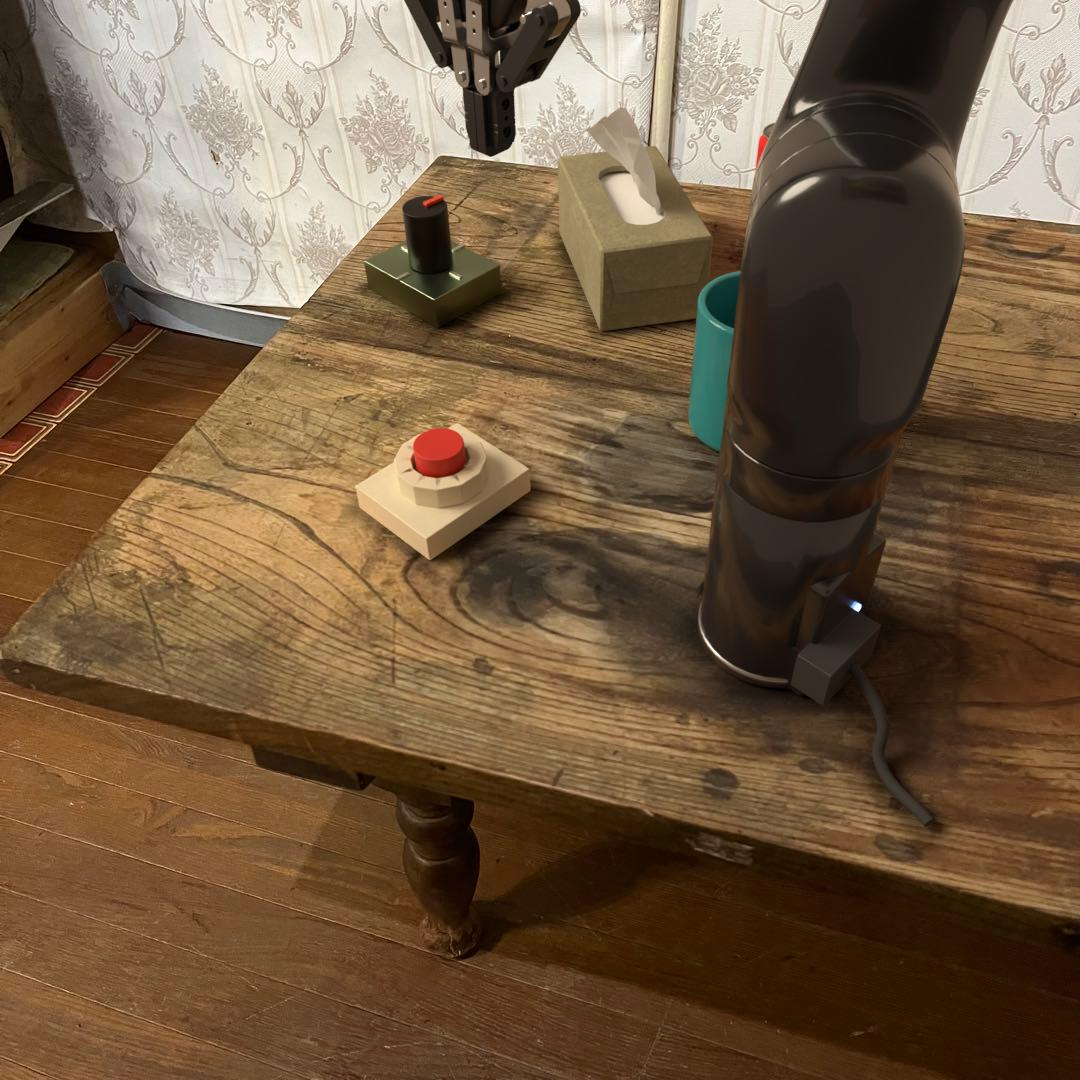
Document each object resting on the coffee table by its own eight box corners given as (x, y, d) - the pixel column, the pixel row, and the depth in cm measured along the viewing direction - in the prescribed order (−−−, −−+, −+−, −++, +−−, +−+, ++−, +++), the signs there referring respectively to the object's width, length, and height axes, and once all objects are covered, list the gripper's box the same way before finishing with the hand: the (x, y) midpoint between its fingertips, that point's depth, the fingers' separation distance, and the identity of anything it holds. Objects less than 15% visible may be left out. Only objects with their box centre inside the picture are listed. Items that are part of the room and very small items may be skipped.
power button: (476, 461, 74) (474, 442, 73) (438, 486, 73) (435, 467, 71) (443, 439, 76) (440, 421, 75) (405, 463, 74) (402, 444, 73)
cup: (702, 491, 77) (715, 366, 69) (679, 393, 85) (689, 271, 77) (823, 484, 77) (851, 359, 69) (788, 387, 85) (809, 265, 77)
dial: (427, 278, 93) (419, 218, 89) (400, 262, 95) (392, 203, 91) (461, 262, 95) (456, 203, 91) (435, 246, 97) (428, 188, 93)
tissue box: (558, 232, 105) (555, 71, 93) (652, 220, 106) (659, 60, 95) (601, 334, 91) (603, 162, 80) (707, 320, 93) (723, 148, 81)
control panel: (502, 292, 97) (500, 262, 95) (436, 329, 93) (433, 298, 91) (432, 256, 102) (429, 226, 100) (367, 289, 98) (362, 259, 96)
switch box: (531, 490, 77) (529, 449, 74) (429, 561, 72) (423, 520, 70) (459, 444, 81) (455, 403, 79) (359, 507, 77) (350, 466, 74)
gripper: (322, -206, 51) (373, 138, 63) (508, -171, 44) (525, 207, 56) (437, -230, 55) (464, 100, 67) (625, -201, 48) (616, 161, 60)
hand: (492, 149), depth 62 cm, fingers closed
